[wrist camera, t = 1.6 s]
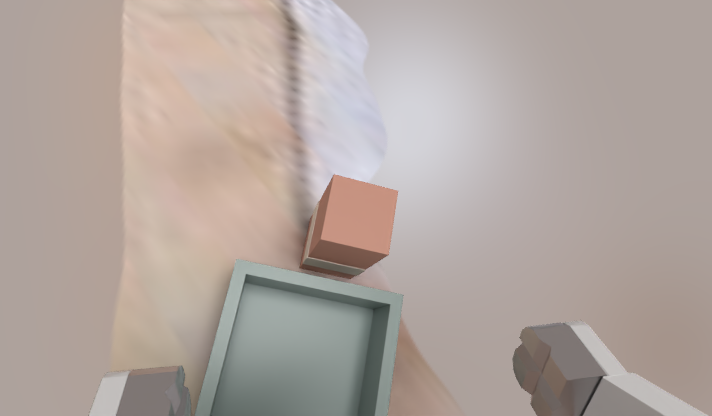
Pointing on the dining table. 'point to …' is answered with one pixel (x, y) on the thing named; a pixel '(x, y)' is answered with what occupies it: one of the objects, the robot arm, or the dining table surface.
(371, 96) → the dining table surface
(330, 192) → the salmon pink two-tone box
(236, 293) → the tray
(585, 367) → the robot arm
